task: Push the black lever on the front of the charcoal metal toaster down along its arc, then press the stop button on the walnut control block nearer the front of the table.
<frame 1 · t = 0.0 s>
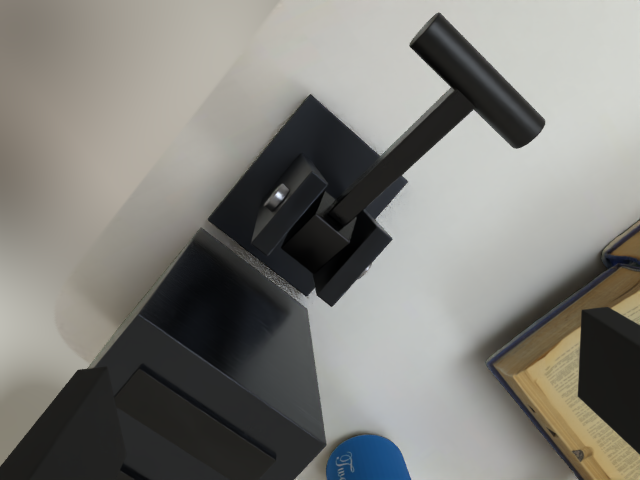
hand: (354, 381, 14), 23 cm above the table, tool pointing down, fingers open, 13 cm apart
lever bracket: (307, 197, 35), on the table
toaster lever: (384, 171, 22), point 13 cm above the table, hinge at 25.0°
toaster: (213, 318, 37), on the table
beverage can: (363, 460, 41), on the table
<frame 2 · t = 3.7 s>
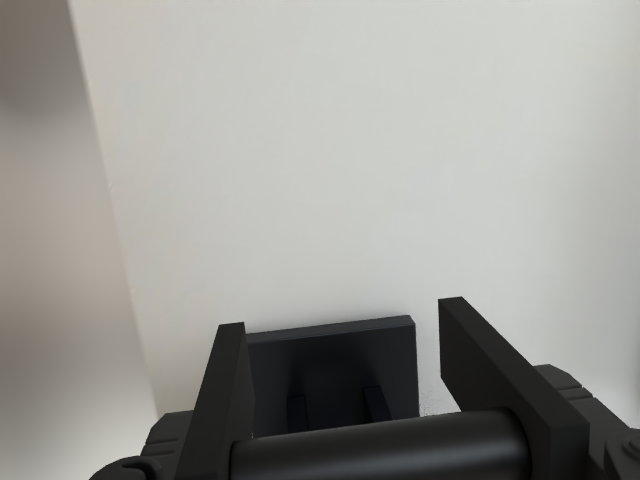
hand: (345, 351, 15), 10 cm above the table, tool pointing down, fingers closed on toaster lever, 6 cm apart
lever bracket: (334, 414, 27), on the table
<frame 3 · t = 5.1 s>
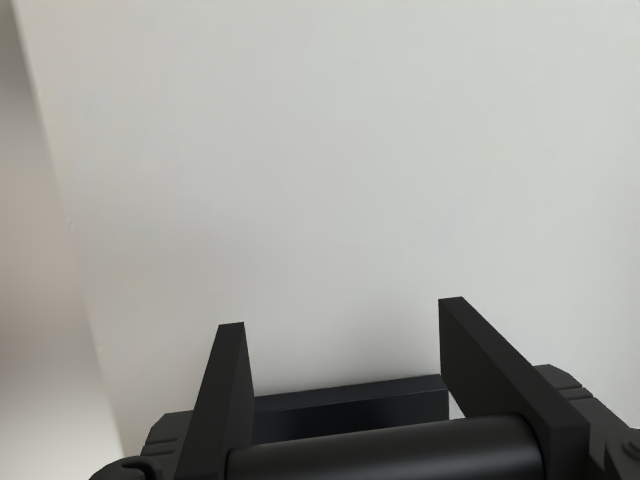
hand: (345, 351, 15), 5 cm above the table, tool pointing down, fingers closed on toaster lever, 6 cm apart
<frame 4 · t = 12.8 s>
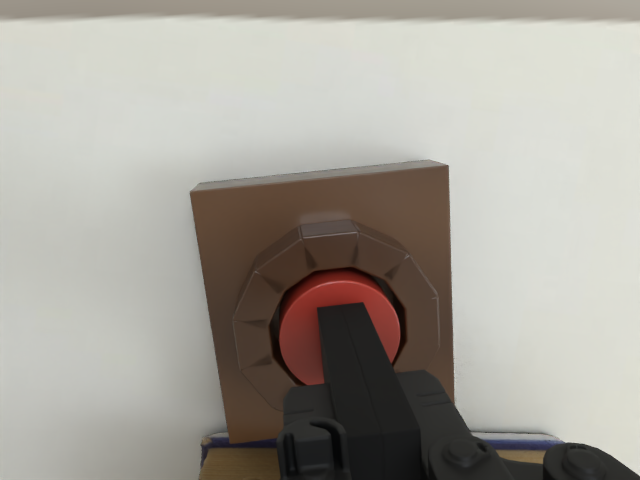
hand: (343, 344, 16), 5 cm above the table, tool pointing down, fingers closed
button block: (327, 292, 20), on the table
stop button: (337, 327, 17), point 4 cm above the table, slide at -0.9 cm, touching gripper
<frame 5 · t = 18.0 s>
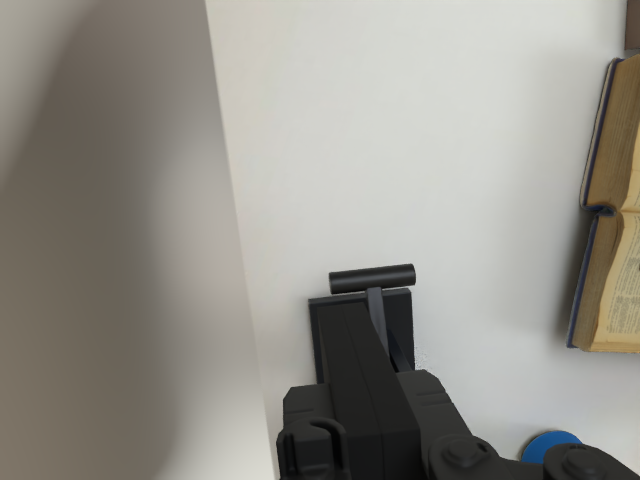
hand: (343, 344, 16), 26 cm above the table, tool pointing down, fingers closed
lever bracket: (362, 349, 45), on the table
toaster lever: (380, 353, 35), point 10 cm above the table, hinge at -17.3°
beverage can: (547, 452, 50), on the table
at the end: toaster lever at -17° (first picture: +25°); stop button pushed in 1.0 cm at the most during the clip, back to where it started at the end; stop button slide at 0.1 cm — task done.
